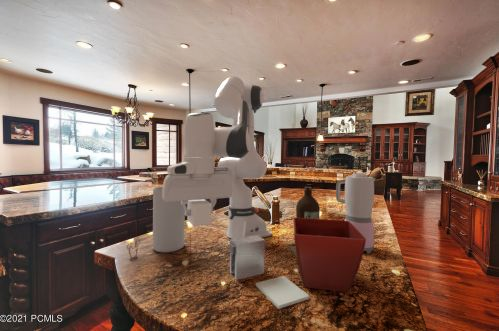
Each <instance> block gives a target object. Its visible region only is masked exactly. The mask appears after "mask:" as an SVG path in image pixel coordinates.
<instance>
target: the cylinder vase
mask: <svg viewBox="0 0 499 331" xmlns="http://www.w3.org/2000/svg"><path fill="white" fill-rule="evenodd" d="M162 190H163V186H158V187H157V186H156V187H154V188H152V205H153V206H152V249H153V250H154V251H155V252H158V253H172V252H177V251H179V250H181V249H182V248H184V246H185V220H186V219H185V218H186V216H185V209H184V208H183V206H182V204H181V201H170V202H166V201H165V200H164V199H163V198H162Z"/></svg>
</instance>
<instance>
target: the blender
mask: <svg viewBox="0 0 499 331" xmlns="http://www.w3.org/2000/svg"><path fill="white" fill-rule="evenodd" d="M376 179H377V178H374V177H372V176H367V173H352V175H347V176H346V177H345V179H339V180H338V181H337V182H336V186H335V190H336V191H335V198H336V199H335V200H336V201H337V202H338V203H341V204H345V212H346V215H345V218H344V220H343V221H350V222H351V223H352V224H353V225H354V227H355V228H356V229H357V230H358V231H359V232H360V233H361V234H362V235H363V236H364V237H365V238H366V243H365V248H364V252H366V254H371V253H372V251H373V250H374V249H375V224H374V222H373V220H372V212H373V207H374V201H375V180H376ZM342 184H344V198H341V185H342Z"/></svg>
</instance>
